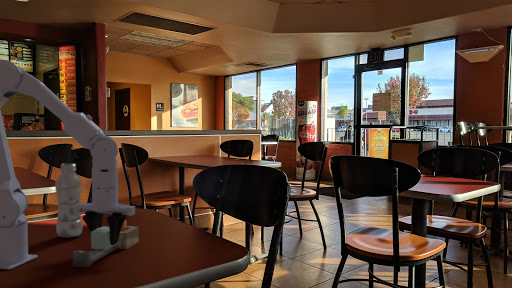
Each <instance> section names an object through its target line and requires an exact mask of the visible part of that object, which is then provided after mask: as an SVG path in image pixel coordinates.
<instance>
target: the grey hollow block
mask: <svg viewBox="0 0 512 288" xmlns="http://www.w3.org/2000/svg"><path fill="white" fill-rule="evenodd" d="M139 235H140V234H139V226H132V225H131V226H130V225H126V230H125V231H124V232H121V231H120V235H119V239H118V248H117V249H123V250H124V249H125V250H128V249H129V248H131V247H133V246H134V245H136V244H137V243H139V242H140V241H139V239H140V238H139V237H140V236H139Z"/></svg>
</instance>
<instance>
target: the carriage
mask: <svg viewBox="0 0 512 288" xmlns="http://www.w3.org/2000/svg"><path fill="white" fill-rule="evenodd" d="M90 237H91V239H90V241H91V242H90V245H91V250H96V249H102V250H107V249H109V248H111V247H113V246H115V245H116V244H118V243H116V244H115V245H111V243H110V230H109V226H105V225H103V226H101V228H97V229H96V230H94V231H92V232H91V233H90Z"/></svg>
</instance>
